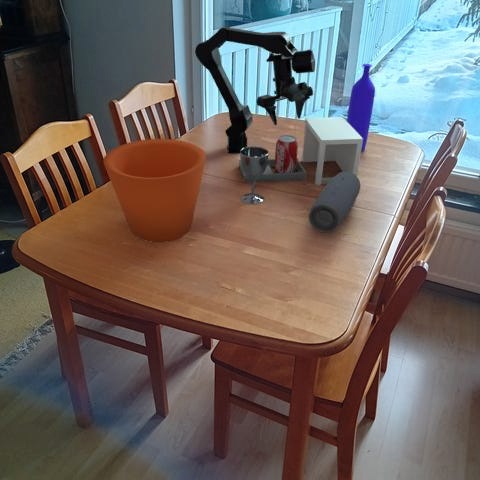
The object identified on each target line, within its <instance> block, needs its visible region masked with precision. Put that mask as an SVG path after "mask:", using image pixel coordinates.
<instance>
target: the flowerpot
mask: <svg viewBox="0 0 480 480" xmlns="http://www.w3.org/2000/svg"><path fill="white" fill-rule="evenodd" d="M206 160H207V155H206V152H205V151H204V150H203V149H202V148H201V147H199V146H198V145H196V144H194V143H191V142H186V141H183V140H179V139H169V138H153V139H151V138H150V139H143V140H142V139H141V140H136V141H130V142H127V143H124V144H121V145H119V146H116V147H115V148H113V149H111V150H109V151H108V152H107V153H106V154H105V156H104V158H103V166H104V167H105V170H106V172H107V175H108V177H109V181H110V183H111V185H112V187H113V190H114V192H115V194H116V197H117V200H118V202H119V204H120V207H121V210H122V213H123V214H124V217H125V220H126V222H127V224H128V227H129V229H130V231H131V234H132V233H133V234H134V235H135V236H137V237H139V238H141V239H144V240H147V241H146V242H148V241H152V242H151V243H167V242H166V241H168V242H172V241H175V240H178V239H180V238H182V237H184V236H185V235H187V234H188V233H189V232H190V229H191V228H192V223H193V219H194V214H195V210H196V206H197V201H198V196H199V192H200V188H201V183H202V180H203V179H202V178H203V173H204V169H205V167H206V166H205V165H206ZM133 234H132V235H133ZM134 235H133V236H134ZM135 236H134V237H135ZM137 237H136V238H137ZM139 238H138V239H139ZM141 239H140V240H141ZM144 240H143V241H144ZM171 240H172V241H171Z"/></svg>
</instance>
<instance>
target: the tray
mask: <svg viewBox="0 0 480 480" xmlns="http://www.w3.org/2000/svg"><path fill="white" fill-rule="evenodd" d="M238 161H239V162H238V165H239V171H240V174H241V178H242V180H243V183H251V181H250V179H249V177H248V176H247V175H246V174H245V173H244V172H243V170H242V167H241V161H240V159H239V160H238ZM272 168H275V158H268V162H267V167H266V169H265V171H264V173H263V174H262V175H261V176H260V177H259V178H258V179H257V180H256V182H255V183H266V182H268V183H269V182H290V181H306V179H307V172H306V170H305V168H304V166H303V165H302V163H301V161H300V160H299V158H298V157H297V162H296V171H297V172H295V173H276V172H275V173H273V171H272Z"/></svg>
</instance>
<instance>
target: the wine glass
mask: <svg viewBox="0 0 480 480" xmlns="http://www.w3.org/2000/svg"><path fill="white" fill-rule="evenodd" d="M268 159H269V150H268V148H265V147H261V146H257V145H255V146H254V145H252V146H247V147H245V148H243V149H241V151H240V153H239V160H240V161H241V167H242V170H243V172H244V173H245V174H246V175H247V176H248V177H249V179H250V181H251V182H250V183H251V184H250V185H251V192H248V193H244V194H242V195H241V196H240V200H241V201H242V202H243V203H244V204H247V205H260V204H262V203H263V202H265V197H264V196H263V195H262V194H259V193H257V192H256V193H255V186H256V183H257V182H256V180H257V179H258V178H259V177H260V176H261V175H262V174H263V173H264V171H265V169H266V167H267V162H268Z"/></svg>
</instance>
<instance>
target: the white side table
mask: <svg viewBox="0 0 480 480" xmlns="http://www.w3.org/2000/svg"><path fill="white" fill-rule="evenodd" d="M303 133H304V135H303V143H302V154H301V162H302V163H313V162H314V163H316V162H317V163H316V170H315V171H316V172H315V178H314V184H315V185H316V186H321V185H322V184H328V183H329V182H330V181H331V180H332V179H333V178H334V177H335V176H334V177H323V170H324V164H325V163H324V162H336V164H337V165H338V167H339V168H340V170H341V172H344V171H348V172H351V173H353V174H355V175H356V176H357V177H358V172H359V165H360V159H361V155H362V151H361V149H362V143H363V138H362V137H361V136H360V135H359V134H358V133H357V132H356V131H355V130H354V129H353V128H352V126H351V125H350V124H349V123H348V122H347V119H345V118H344V116H342V117H341V116H339V117H338V116H336V117H335V116H333V117H331V116H330V117H305V118H304V132H303Z"/></svg>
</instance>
